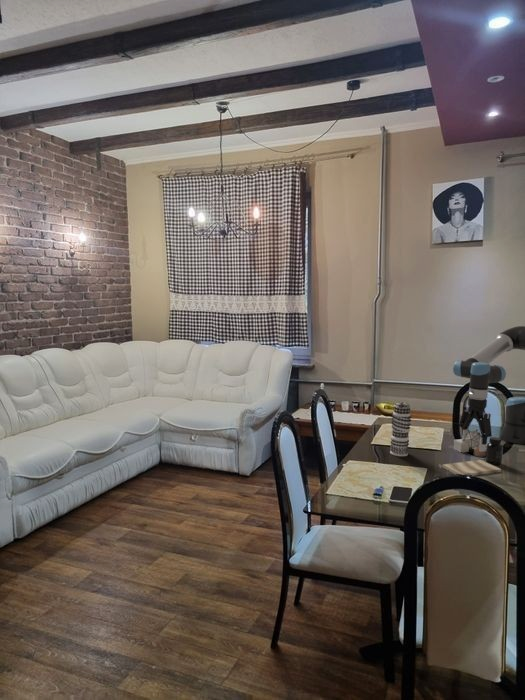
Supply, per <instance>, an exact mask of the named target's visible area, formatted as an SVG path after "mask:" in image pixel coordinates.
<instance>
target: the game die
mask: <svg viewBox="0 0 525 700" xmlns="http://www.w3.org/2000/svg"><path fill="white" fill-rule="evenodd" d="M481 436H482V435H481V432H479V431H478V429H475V430H472V431H471V430H470V429H468V434H467V436H466V437H465V439H464V440H463V441H465V442H466V443H467V444H468V446H469V448H470V450H473V449H474V447H479V444H480V437H481Z"/></svg>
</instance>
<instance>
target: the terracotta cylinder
mask: <svg viewBox="0 0 525 700" xmlns="http://www.w3.org/2000/svg"><path fill="white" fill-rule="evenodd" d="M486 448H487V445H486V446H485V451H481V452H480V451H479V447H474V448H473V455H474V456H475V457H480V458H486Z"/></svg>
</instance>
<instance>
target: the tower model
mask: <svg viewBox="0 0 525 700" xmlns="http://www.w3.org/2000/svg"><path fill="white" fill-rule="evenodd" d="M411 408H412V406H411V405H410V404H409V403H408V402H405V401H398V402H396V403H394V404H393V412H392V414H391V430H392V433H391V438H390V448H389V450H390V451H389V453H390V455H393V456H396V457H407V456H408V455H409V449H410V448H409V445H410V444H409V443H410V440H409V437H410V436H409V434H410V433H409V432H411V431H410V429H411V427H410V426H412V424H411V423H410V422H412V420H411V419H412V416H411Z"/></svg>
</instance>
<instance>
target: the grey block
mask: <svg viewBox="0 0 525 700" xmlns="http://www.w3.org/2000/svg"><path fill="white" fill-rule="evenodd" d="M454 449H455V450H454ZM453 450H454V451H456V450H457V451H456V452H458V451H459V452H458V453H460V452H462V453H469V450H470V446H468V444H462V438H460V439H453Z"/></svg>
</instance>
